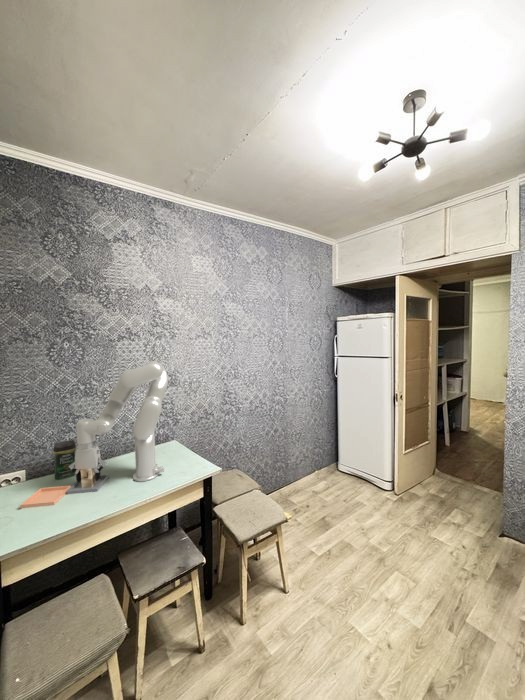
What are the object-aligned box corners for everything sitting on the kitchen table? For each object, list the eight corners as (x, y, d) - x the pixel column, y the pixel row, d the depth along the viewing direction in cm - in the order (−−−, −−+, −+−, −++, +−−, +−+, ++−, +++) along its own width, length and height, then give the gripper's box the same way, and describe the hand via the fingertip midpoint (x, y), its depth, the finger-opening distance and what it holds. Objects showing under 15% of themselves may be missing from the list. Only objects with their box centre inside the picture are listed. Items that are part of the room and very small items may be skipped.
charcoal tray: (109, 478, 142) (109, 474, 142) (97, 492, 129) (97, 488, 129) (81, 480, 140) (81, 476, 140) (66, 495, 127) (66, 491, 127)
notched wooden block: (96, 482, 137) (95, 464, 136) (91, 487, 132) (90, 469, 132) (86, 483, 136) (85, 465, 136) (81, 488, 132) (80, 470, 131)
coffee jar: (54, 482, 139) (52, 446, 138) (55, 476, 145) (53, 441, 144) (77, 476, 144) (75, 441, 143) (77, 470, 151) (75, 437, 150)
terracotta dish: (71, 489, 132) (70, 485, 132) (54, 506, 119) (54, 501, 119) (40, 492, 130) (40, 488, 130) (20, 509, 117) (20, 505, 117)
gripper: (109, 440, 138) (110, 475, 139) (71, 443, 136) (73, 478, 137) (102, 446, 131) (104, 482, 132) (62, 449, 128) (64, 486, 129)
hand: (88, 480), depth 134 cm, fingers open, 7 cm apart
